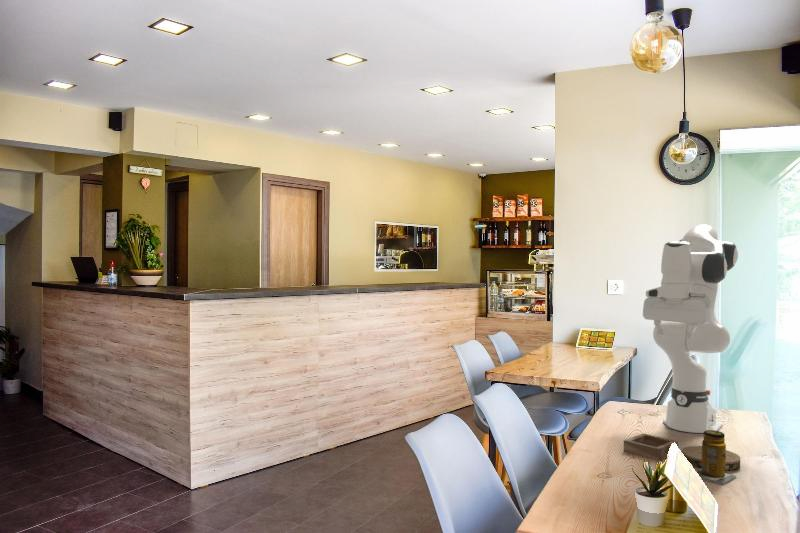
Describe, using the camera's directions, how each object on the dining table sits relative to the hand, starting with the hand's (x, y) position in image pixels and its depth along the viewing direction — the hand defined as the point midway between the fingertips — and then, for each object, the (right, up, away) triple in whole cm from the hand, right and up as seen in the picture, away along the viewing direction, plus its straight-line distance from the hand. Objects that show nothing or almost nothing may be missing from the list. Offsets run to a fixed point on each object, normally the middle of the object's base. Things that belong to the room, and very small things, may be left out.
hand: (675, 336), depth 198 cm
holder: (-7, -37, +1) cm, 38 cm away
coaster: (+1, -37, -21) cm, 43 cm away
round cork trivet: (+7, -38, -8) cm, 39 cm away
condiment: (+1, -37, -21) cm, 43 cm away
